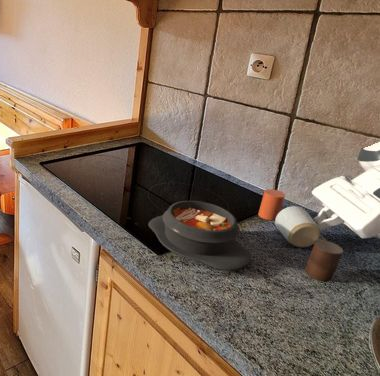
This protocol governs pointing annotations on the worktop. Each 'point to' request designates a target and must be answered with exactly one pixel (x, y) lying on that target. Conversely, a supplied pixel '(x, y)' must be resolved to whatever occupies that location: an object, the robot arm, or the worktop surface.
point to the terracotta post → (271, 204)
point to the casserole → (202, 234)
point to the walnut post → (323, 260)
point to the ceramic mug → (298, 227)
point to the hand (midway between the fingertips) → (316, 225)
